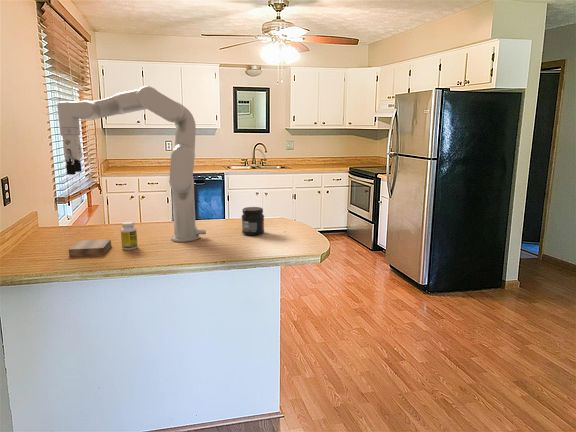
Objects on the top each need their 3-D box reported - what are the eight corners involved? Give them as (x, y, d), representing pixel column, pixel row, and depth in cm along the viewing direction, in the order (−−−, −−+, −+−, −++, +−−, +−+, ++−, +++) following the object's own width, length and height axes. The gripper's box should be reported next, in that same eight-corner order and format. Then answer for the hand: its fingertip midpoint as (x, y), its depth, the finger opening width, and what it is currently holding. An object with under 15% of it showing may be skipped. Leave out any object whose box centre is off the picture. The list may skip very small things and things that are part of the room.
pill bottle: (132, 250, 186) (130, 224, 184) (119, 249, 188) (116, 224, 185) (140, 246, 192) (138, 221, 190) (127, 245, 193) (125, 220, 191)
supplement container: (264, 230, 218) (264, 206, 216) (264, 236, 208) (263, 210, 205) (242, 231, 218) (242, 206, 215) (241, 236, 208) (240, 211, 205)
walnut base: (111, 246, 193) (110, 239, 192) (103, 255, 180) (103, 247, 180) (79, 247, 191) (78, 240, 190) (69, 256, 179) (68, 249, 178)
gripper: (74, 132, 180) (78, 175, 184) (84, 131, 197) (88, 170, 200) (54, 132, 179) (58, 175, 182) (66, 131, 195) (70, 171, 199)
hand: (74, 173), depth 191 cm, fingers open, 9 cm apart
